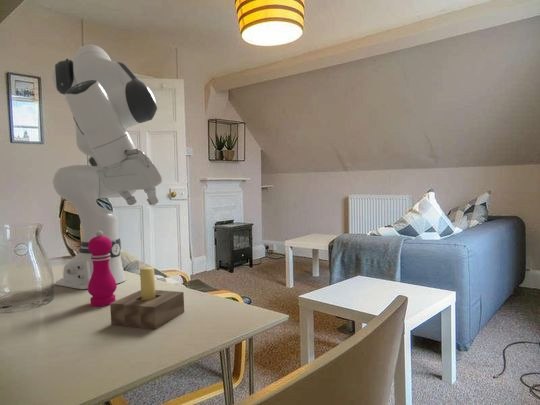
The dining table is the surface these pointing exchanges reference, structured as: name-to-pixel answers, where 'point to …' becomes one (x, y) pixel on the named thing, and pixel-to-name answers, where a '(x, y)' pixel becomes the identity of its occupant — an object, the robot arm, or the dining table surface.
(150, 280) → the dowel
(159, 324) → the socket block
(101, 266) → the pepper mill
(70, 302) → the dining table surface
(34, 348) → the dining table surface
